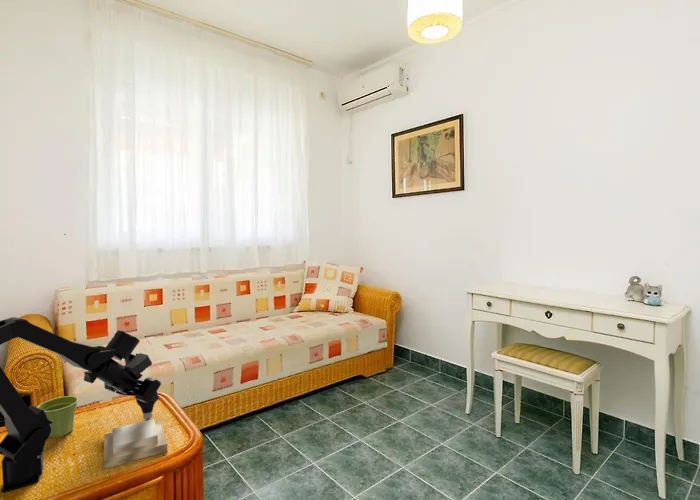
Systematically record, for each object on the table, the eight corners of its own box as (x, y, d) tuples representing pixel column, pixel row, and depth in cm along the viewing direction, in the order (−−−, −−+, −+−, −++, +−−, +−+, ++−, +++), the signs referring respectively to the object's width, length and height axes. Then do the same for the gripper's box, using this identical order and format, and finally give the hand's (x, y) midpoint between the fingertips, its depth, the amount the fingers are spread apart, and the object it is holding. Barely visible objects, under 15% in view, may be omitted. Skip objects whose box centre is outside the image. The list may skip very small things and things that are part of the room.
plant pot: (41, 446, 103) (39, 414, 103) (35, 433, 110) (34, 403, 109) (83, 432, 110) (81, 403, 110) (75, 421, 117) (74, 393, 116)
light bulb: (162, 415, 120) (161, 384, 119) (151, 425, 114) (150, 392, 114) (144, 414, 121) (143, 383, 120) (132, 424, 115) (131, 391, 114)
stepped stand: (103, 468, 94) (103, 453, 94) (104, 441, 106) (104, 427, 105) (167, 451, 101) (166, 436, 101) (161, 427, 113) (160, 414, 113)
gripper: (153, 352, 108) (187, 377, 119) (113, 343, 117) (148, 367, 127) (127, 391, 102) (165, 413, 112) (86, 378, 110) (125, 400, 121)
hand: (151, 396), depth 118 cm, fingers closed on light bulb, 6 cm apart
